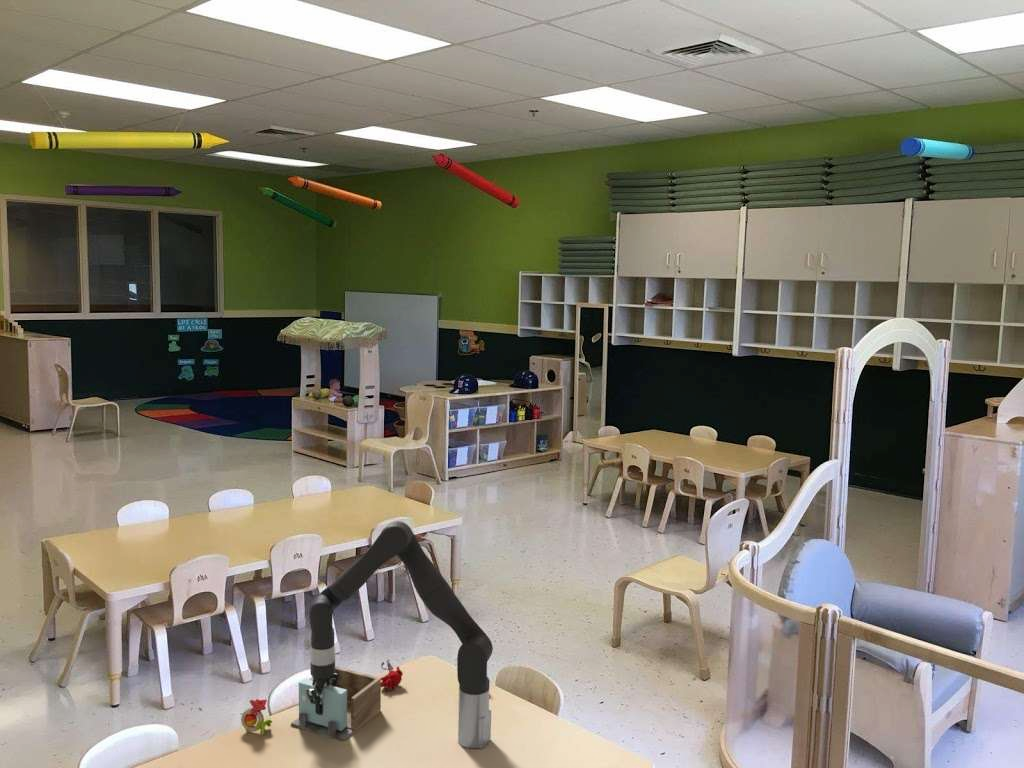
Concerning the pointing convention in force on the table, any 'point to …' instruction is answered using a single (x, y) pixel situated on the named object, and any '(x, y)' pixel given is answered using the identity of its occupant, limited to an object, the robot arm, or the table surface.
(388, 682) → the figurine
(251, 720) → the bird rattle
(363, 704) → the cabinet
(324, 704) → the door
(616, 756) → the table surface
